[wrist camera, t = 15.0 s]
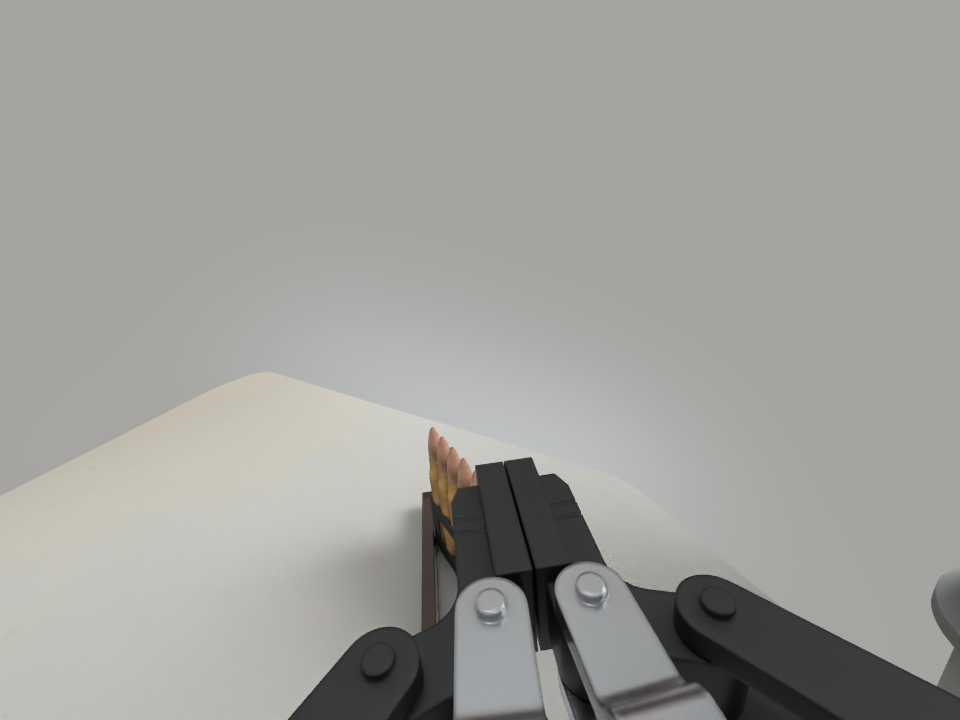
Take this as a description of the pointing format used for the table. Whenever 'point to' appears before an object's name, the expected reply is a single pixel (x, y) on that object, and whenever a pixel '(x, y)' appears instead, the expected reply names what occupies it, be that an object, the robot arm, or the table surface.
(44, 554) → the table surface
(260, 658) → the table surface
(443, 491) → the ammunition clip
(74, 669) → the table surface
